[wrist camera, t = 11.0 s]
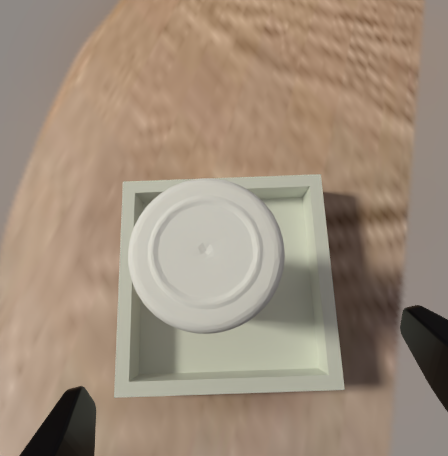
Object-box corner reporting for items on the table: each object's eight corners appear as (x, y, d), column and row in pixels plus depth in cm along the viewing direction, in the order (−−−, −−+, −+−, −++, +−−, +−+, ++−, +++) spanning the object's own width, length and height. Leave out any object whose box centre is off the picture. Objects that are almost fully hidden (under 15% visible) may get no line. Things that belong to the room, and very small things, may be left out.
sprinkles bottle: (252, 320, 22) (288, 339, 9) (183, 318, 22) (114, 333, 9) (253, 251, 23) (287, 174, 10) (187, 249, 23) (131, 170, 10)
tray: (328, 378, 21) (344, 389, 19) (129, 385, 22) (114, 397, 19) (309, 190, 25) (320, 174, 22) (135, 196, 25) (122, 181, 22)
